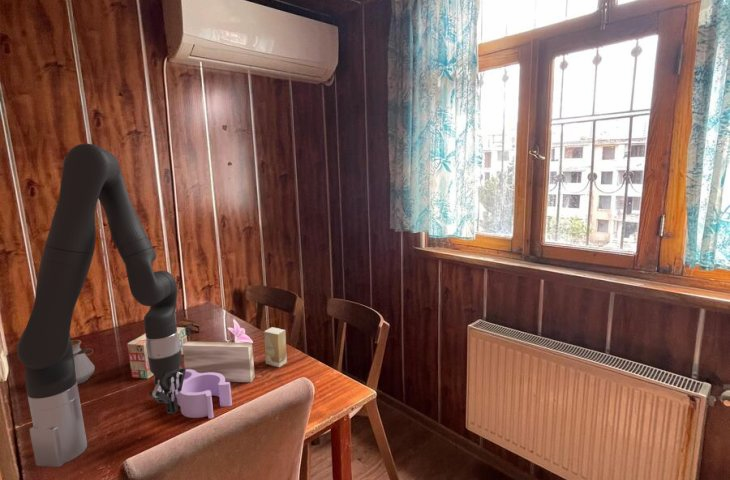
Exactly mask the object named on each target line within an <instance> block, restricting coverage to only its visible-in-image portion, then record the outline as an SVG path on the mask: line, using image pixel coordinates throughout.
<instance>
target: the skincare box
mask: <svg viewBox="0 0 730 480" xmlns="http://www.w3.org/2000/svg"><path fill="white" fill-rule="evenodd" d="M286 334H287V333H286V329H281V328H279V327H274V326H272V327H269V328H267V329H266V330H264V333H263V335H264V351H265V352H264V353H265V364H266V365H269V366H272V367H277V368H281V367H282V366H283V365H285V364H287V362H288V359H287V358H288V357H287V355H288V354H287V336H286Z"/></svg>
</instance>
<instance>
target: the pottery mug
mask: <svg viewBox="0 0 730 480" xmlns="http://www.w3.org/2000/svg"><path fill="white" fill-rule="evenodd" d="M176 327H181V328H185V329H186V336H187V338H188V337H190V336H191V334H192V331H193V327H194V328H196V329H198V330H197V333H200V332H201V326H200V322H199V321H197V320H194V319H189V318H185V317H181V320H180V321H179V322H177V323H176Z"/></svg>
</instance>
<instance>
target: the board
mask: <svg viewBox="0 0 730 480" xmlns="http://www.w3.org/2000/svg"><path fill="white" fill-rule="evenodd" d="M182 347H183V354H182V355H183V364H184V368H185V369H192V370H195V371H196V372H198V373H208V372H215V373H220V374H222V375H223V376H224V377H225V382H230V383H231V382H232V383H235V382H236V383H252V382H253V381H254V379H255V378H256V376H255V375H256V374H255V365H254V351H253V343H250V342H245V343H241V342H240V343H235V342H234V341H233V342H232V341H231V342H229V341H225V342H223V341H217V342H216V341H189V340H187V342H186V343H185V344H184V345H182Z"/></svg>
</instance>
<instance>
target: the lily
mask: <svg viewBox="0 0 730 480" xmlns="http://www.w3.org/2000/svg"><path fill="white" fill-rule="evenodd" d="M232 321H233V326H234V327H227V329H228V330H229V331H230V332H231V333H232V334H233V335H234V338H233V339H232V341H231V342H233V343H252V344H253V343H254V341H253V340H252V339H251V338H250V336H249V335H247V334H246V329H245V328H244V327H241V326H240V324H239V323H238V322H237V321H236V319H235V318H233V320H232Z"/></svg>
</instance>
